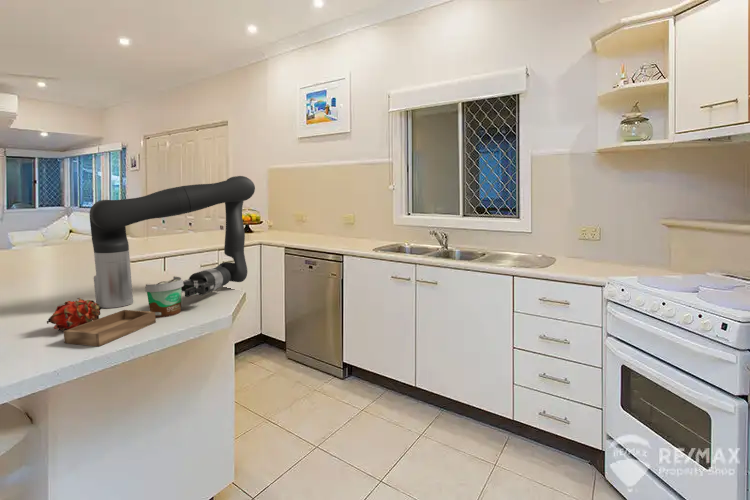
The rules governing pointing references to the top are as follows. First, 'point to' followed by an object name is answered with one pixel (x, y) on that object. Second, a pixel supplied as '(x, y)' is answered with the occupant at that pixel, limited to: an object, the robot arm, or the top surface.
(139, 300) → the top surface
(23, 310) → the top surface
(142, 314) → the wooden tray
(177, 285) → the food container
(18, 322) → the top surface
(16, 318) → the top surface
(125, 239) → the robot arm
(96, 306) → the dragon fruit
